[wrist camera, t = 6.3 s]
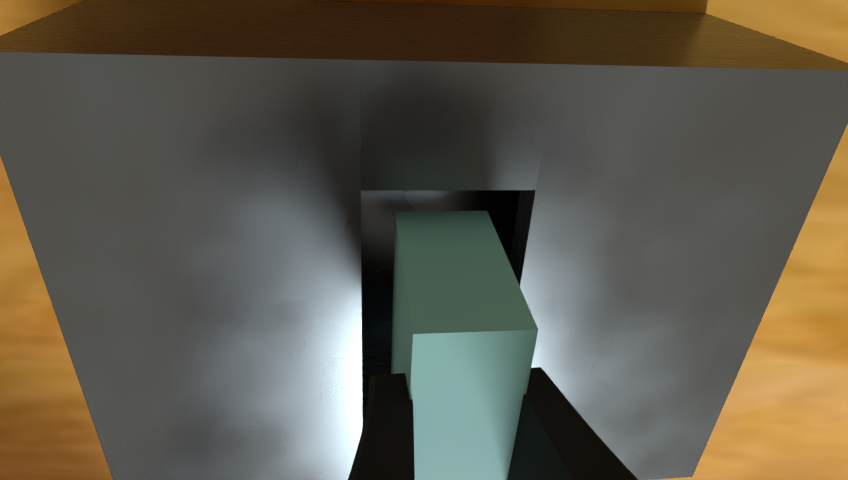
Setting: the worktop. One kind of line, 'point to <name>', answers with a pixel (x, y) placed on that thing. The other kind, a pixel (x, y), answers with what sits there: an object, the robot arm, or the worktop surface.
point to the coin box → (400, 208)
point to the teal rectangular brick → (459, 343)
